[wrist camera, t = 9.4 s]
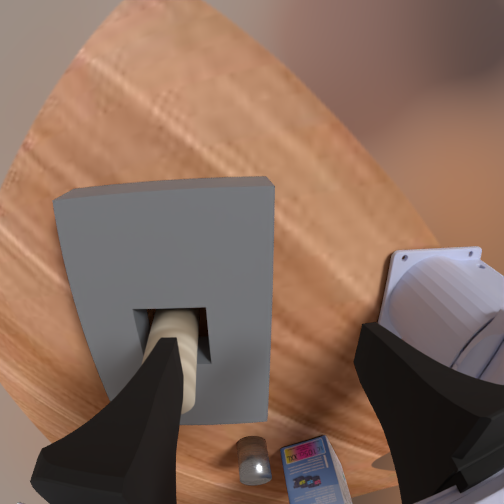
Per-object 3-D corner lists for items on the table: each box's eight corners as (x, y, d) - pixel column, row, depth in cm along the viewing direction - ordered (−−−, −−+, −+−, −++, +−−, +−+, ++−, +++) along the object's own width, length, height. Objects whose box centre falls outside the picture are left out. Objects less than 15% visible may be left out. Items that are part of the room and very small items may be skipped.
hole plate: (266, 176, 19) (274, 186, 16) (262, 394, 26) (267, 421, 23) (73, 188, 18) (52, 200, 15) (125, 396, 24) (119, 422, 22)
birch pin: (198, 292, 21) (192, 377, 14) (200, 329, 22) (197, 416, 15) (154, 292, 21) (129, 375, 13) (159, 328, 22) (141, 414, 15)
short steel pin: (266, 434, 28) (272, 471, 24) (265, 449, 29) (271, 483, 25) (236, 437, 28) (239, 473, 24) (237, 451, 29) (240, 486, 25)
